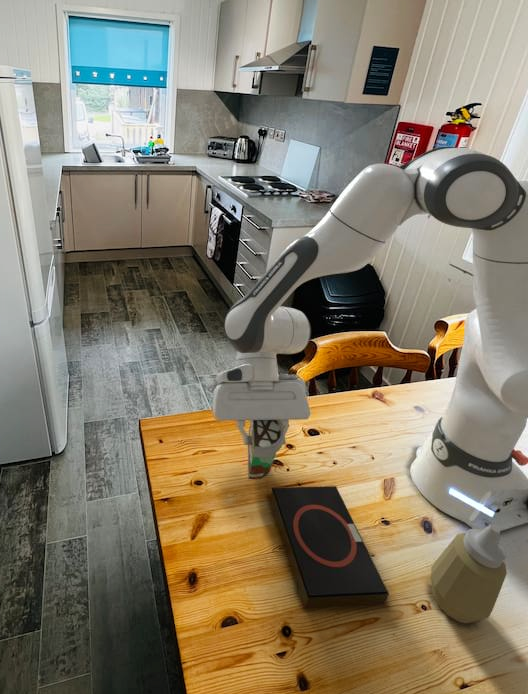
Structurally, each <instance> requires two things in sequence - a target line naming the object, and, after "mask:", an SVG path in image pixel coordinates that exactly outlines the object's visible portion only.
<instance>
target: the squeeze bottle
mask: <svg viewBox="0 0 528 694" xmlns="http://www.w3.org/2000/svg"><path fill="white" fill-rule="evenodd" d="M500 537H501V531H500V528H499V527H498V526H496V525H494V524H491V525H489V526H488V527H487V528H485V529H484V530H483V531H482V530H479V529H475V528H474V529H473V528H469V529H468V530H467V532H462V533H457V534H456V535H455V537H454V538H453V539H452V540H451V542H449V544H448V545H447V547H446V548H445V549H444V550H443V551H442V553H441V554H439V557H438V558H437V559H436V560H435V561H434V563H433V564H432V565H431V567H430V580H431V581H430V582H431V592H432V595H433V598H434V601H435V602H436V603H437V605H438V606H439V609H441V610H442V611H443V612H444V613H445V614H446V615H447V616H448V617H450V618H451V619H453V620H455V621H457V622H459V623H462V624H470V623H474V622H478V621H481V620H484V619H488V618H489V617H490V616H491V614H492V613H493V610H494V608H495V605H496V603H497V600H498V598H499V596H500V592H501V590H502V588H503V584H504V582H505V580H506V577H507V565H506V564H505V562H504V561H505V559H506V558H507V557H506V551H505V549H504V547H503V546H502V544H501V543H500Z"/></svg>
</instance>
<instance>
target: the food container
mask: <svg viewBox="0 0 528 694" xmlns="http://www.w3.org/2000/svg"><path fill="white" fill-rule="evenodd" d="M249 421H250V422H249V427H248V433H247V435H250V436H252V440H251V441H252V445H246V447H247V479H248V480H253V481H255V480H260V479H262V478H265V477H267V476H268V475H269V473H270V472H271V471H272V467H273V464H274V461H275V458H276V455H277V453H278V452H279V451H280V450H281V449H282V447H283V445H284V444H283V440H284V439H283V429H282V426H281V423H280V421H279V420H249Z"/></svg>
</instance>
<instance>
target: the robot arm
mask: <svg viewBox="0 0 528 694" xmlns="http://www.w3.org/2000/svg"><path fill="white" fill-rule="evenodd" d="M422 213H426V214H429V215H430V216H432V217H433V218H434V219H435V220H437V222H441V223H442V224H445V225H448V226H451V227H456V228H463V229H471V232H472V235H473V236H472V295H473V300H474V303H475V304H474V305H475V308H474V309H473V310H471V312H470V313H469V314H468V315H467V317H466V318H465V320H464V331H463V332H464V334H463V341H462V346H461V351H460V356H459V360H458V365H457V372H456V378H455V382H454V383H455V384H454V387H453V391H452V394H451V396H450V399H449V401H448V404H447V405H446V408H445V411H444V413H443V415H442V417H440V418H439V419H438V420H437V422H436V424H435V425H434V429H433V430H432V432H430V435H429V436H428V437H427V439H426V441H425V443H423V446H419V447H418V448H417V449H416V453H415V454H416V457H415V459H414V461H412V463H411V465H410V468H409V469H410V470H409V471H410V476H411V479H412V482H413V484H414V485H415V487H416V489H417V490H418V492H420V494H421V495H422V496H423V497H424V498H425V499H426V500H427V501H428V502H429V503H430V504H431V505H433V506H434V507H435V508H437V509H438V510H440V511H441V512H443V513H445V514H447V515H448V516H450V517H453V518H454V519H457V520H459V521H461V522H462V523H464V524H466V525H467V526H469V527H470V528H471V529H474V528H475V529H479V530H482V531H483V530H484V529H485V528H487V527H488V526H489V525H491V524H494V525H496V526H498V527H499V528H500V532H502V531H505V530H508V529H512V528H515V527H519V526H521V525H525V524H528V476H527V475H526V474H525V473H524V471H522V469H521V468H520V467H519V466H521V467H523V466H526V465H527V464H528V457H527V456H526V455H525V454H523V452H522V451H521V450H519V449H517V450H516V449H515V447H516V445H517V443H518V442H519V440H520V438H521V436H522V434H523V433H524V431H525V428H526V426H527V422H528V180H518V179H517V178H516V177H515V176H514V174H513V172H512V171H511V170H510V169H509V167H508V166H507V165H505V163H504V162H502V161H501V160H499V159H497V158H496V157H493V156H491V155H489V154H485V153H483V152H481V151H478V150H476V149H472V148H468V147H456V146H440V147H436V148H435V147H434V148H433V149H432V148H431V149H430V150H428V151H425V152H424V153H421V154H420V155H418V156H416V157H415V158H412V159H411V160H409V161H407V162H405V163H403V164H401V165H400V166H399V167H398V166H396V165H392V164H389V163H374V164H369V165H368V166H366V167H365V168H363V169H362V170H361V171H360V172H359V173H358V174H357V175H356V176H355V177H354V178H353V179H352V180H351V182H349V184H348V185H347V186H346V187H345V188H344V190H342V192H341V193H340V194H339V195H338V197H337V198H336V200H335V201H334V202H333V204H332V206H331V207H330V208H329V209H328V211H327V212H326V213H325V215H324V216H323V217H322V219H321V220H320V221H319V222H318V223H317V224H316V225H315V226H314V227H313V228H312V229H311V230H310V231H308V232H307V233H306V234H304V235H302V237H300V238H297V239H296V240H293V242H292V243H291V244H289V245H288V246H287V247H286V249H284V250H283V252H281V254H279V256H278V257H277V258H276V259H275V260H274V261H273V263H272V264H271V265H270V266H269V267H268V269H267V270H266V271H265V272H264V273H263V275H261V277H260V278H259V280H258V281H257V282H256V283H255V284H254V285H253V286H252V287H251V289H249V291H248V292H247V294H245V295H244V296H243V297H242V298H240V299H238V300H237V301H236V302H235V303H234V304H233V305H232V306H231V307H230V308H229V309H228V311H227V313H226V315H225V318H224V320H223V321H224V322H223V331H224V334H225V337H226V339H227V341H228V343H229V344H230V346H232V347H233V348H234V349H235V351H236V357H235V365H236V366H235V367H230V368H228V369H227V370H223V371H221V372H219V373H218V374H216V376H215V377H216V379H215V380H216V383H217V386H215V388H214V390H213V395H212V397H213V398H212V417H213V418H214V419H215V421H217V422H227V421H228V422H231V421H234V422H235V426H236V428H237V430H238V431H239V433H240V435H241V436H242V444H243V445H242V446H247V445H252V441H251V440H252V436H250V435H248V433H247V431H246V429H245V428H244V427H246V421H251V420H279V421H280V423H281V426H282V429H283V439H284V440H283V445H286V444H287V443H286V442H287V441H286V436H287V435H286V434H287V432H288V430H289V427H290V422H289V421H296V420H298V421H299V420H300V421H305V420H309V418H310V416H311V409H310V404H309V400H308V396H307V394H306V393H307V386H306V381H305V380H304V378H302V377H301V376H300V375H298V374H297V373H291V374H285V373H279V366H278V359H277V355H278V354H281V355H293V354H298V353H301V352H303V351H304V350H305V349H306V348H307V346H308V345H309V343H310V340H311V336H312V327H311V323H310V321H309V319H308V316H306V314H305V313H304V312H303V311H301V310H299V309H296V308H293V307H288V306H283V303H284V302H285V301H286V300H287V299H288V298H289V297H290V296H291V294H292V293H294V292H295V290H296V289H297V288H298V287H300V286H301V285H302V284H304V283H306V282H308V281H311V280H313V279H317V278H320V277H324V276H325V277H326V276H330V275H337V274H347V273H352V272H355V271H358V270H361V269H363V268H364V267H365V266H366V265H368V264H369V263H370V262H371V261H373V260H374V259H375V258H376V257H377V256H378V255H379V253H380V252H381V251H382V249H383V248H384V247H385V246H386V244H387V243H388V242H389V241H390V239H391V238H392V236H393V235H394V234H395V232H396V231H397V229H398V228H399V227H400V226H401V225H403V224H404V223H405V222H406V221H408V219H410V218H412V217H413V216H417V215H418V214H419V215H420V214H422ZM513 460H514V461H515V462H514V461H513ZM516 463H517V464H516Z"/></svg>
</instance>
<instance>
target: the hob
mask: <svg viewBox="0 0 528 694" xmlns="http://www.w3.org/2000/svg"><path fill="white" fill-rule="evenodd" d="M269 500H270V503H271V507H272V509H273V512H274V516H275V519H276V523H277V526H278V528H279V531H280V532H279V533H280V535H281V538H282V542H283V544H284V548H285V551H286V554H287V557H288V559H289V560H288V561H289V563H290V566H291V569H292V574H293V576H294V579H295V582H296V585H297V590H298V593H299V596H300V598H301V602H302V605H303V608H304V609H321V608H340V607H343V608H344V607H361V606H383V605H385V604H386V602H387V599H388V597H389V595H390V593H389V591H388V589H387V587H386V585H385V583H384V581H383V579H382V577H381V575H380V572H379V570H378V568H377V567H376V565H375V562H374V560H373V559H372V557H371V554H370V552H369V550H368V548H367V547H366V544H365V542H364V540H363V538H362V536H361V533H360V532H359V530H358V528H357V526H356V524H355V522H354V520H353V518H352V516H351V513H350V511H349V509H348V508H347V506H346V504H345V501H344V499H343V497H342V495H341V493H340V492H339V489H338V487H337V486H335V485H331V486H330V485H329V486H290V487H288V486H287V487H286V486H285V487H271V490H270V494H269Z"/></svg>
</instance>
